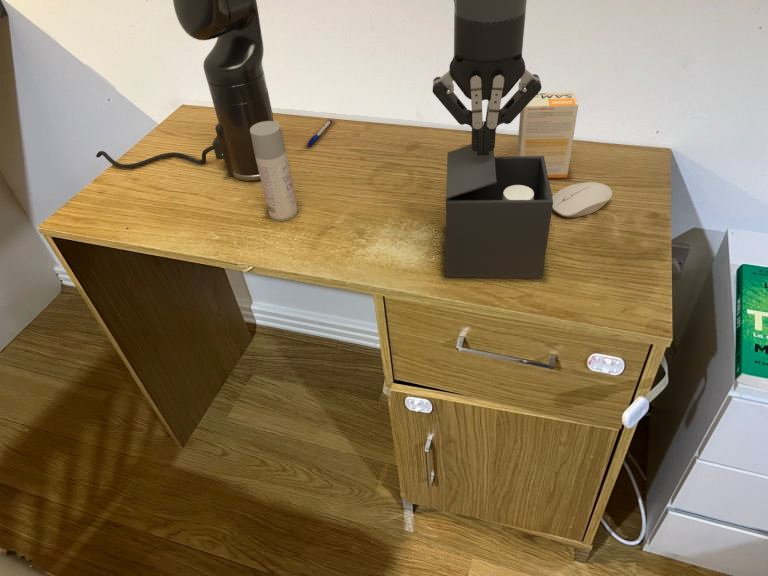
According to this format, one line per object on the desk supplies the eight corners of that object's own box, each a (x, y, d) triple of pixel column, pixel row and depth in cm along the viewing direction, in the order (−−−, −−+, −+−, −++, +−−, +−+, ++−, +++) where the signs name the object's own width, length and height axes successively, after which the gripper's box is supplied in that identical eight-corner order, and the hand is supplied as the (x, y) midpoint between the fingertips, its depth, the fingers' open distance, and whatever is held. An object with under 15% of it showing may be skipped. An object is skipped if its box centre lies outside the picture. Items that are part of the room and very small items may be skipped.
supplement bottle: (486, 243, 86) (490, 187, 79) (519, 234, 87) (526, 177, 80) (504, 265, 82) (510, 208, 75) (539, 255, 83) (547, 197, 77)
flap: (446, 199, 73) (446, 197, 73) (448, 154, 81) (447, 152, 81) (496, 182, 71) (495, 180, 71) (492, 138, 79) (492, 136, 79)
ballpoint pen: (311, 148, 111) (310, 143, 111) (306, 147, 111) (306, 142, 111) (332, 122, 118) (331, 117, 118) (328, 122, 119) (327, 117, 118)
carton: (445, 277, 82) (445, 202, 73) (446, 230, 90) (447, 156, 81) (541, 279, 80) (553, 202, 72) (534, 230, 88) (544, 155, 80)
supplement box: (563, 164, 101) (575, 90, 92) (567, 179, 98) (579, 104, 89) (514, 164, 102) (521, 91, 93) (516, 179, 99) (523, 105, 90)
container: (298, 218, 94) (281, 133, 84) (269, 223, 94) (248, 137, 84) (297, 202, 98) (280, 118, 88) (269, 206, 98) (249, 122, 87)
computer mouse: (541, 204, 93) (543, 187, 91) (594, 187, 95) (597, 171, 93) (563, 223, 89) (566, 207, 87) (618, 206, 91) (622, 190, 89)
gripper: (425, 21, 61) (428, 168, 72) (558, 15, 59) (539, 167, 71) (428, -2, 66) (431, 138, 78) (549, -7, 65) (533, 137, 76)
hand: (482, 152), depth 74 cm, fingers closed
